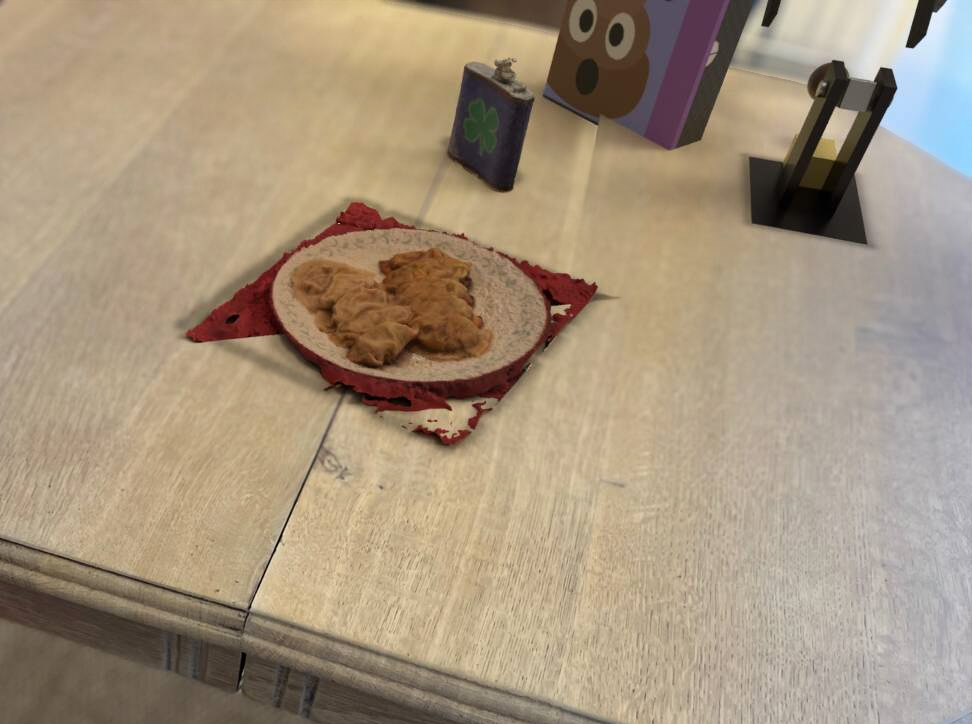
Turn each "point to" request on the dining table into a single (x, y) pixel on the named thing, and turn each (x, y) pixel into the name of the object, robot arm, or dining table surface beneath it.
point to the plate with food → (404, 312)
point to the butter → (817, 163)
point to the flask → (491, 123)
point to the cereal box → (646, 63)
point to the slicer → (838, 198)
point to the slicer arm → (845, 90)
